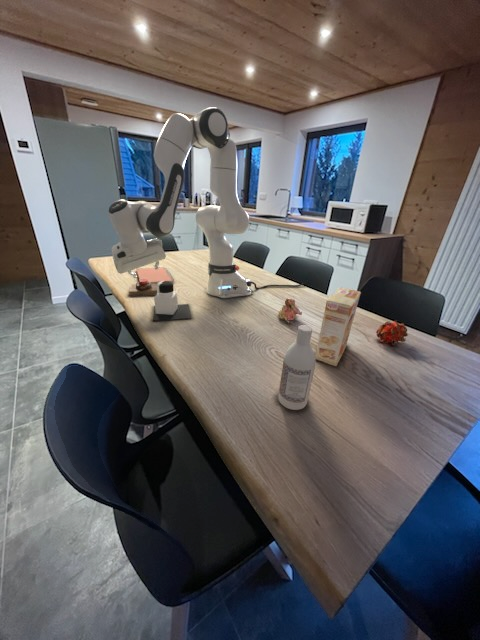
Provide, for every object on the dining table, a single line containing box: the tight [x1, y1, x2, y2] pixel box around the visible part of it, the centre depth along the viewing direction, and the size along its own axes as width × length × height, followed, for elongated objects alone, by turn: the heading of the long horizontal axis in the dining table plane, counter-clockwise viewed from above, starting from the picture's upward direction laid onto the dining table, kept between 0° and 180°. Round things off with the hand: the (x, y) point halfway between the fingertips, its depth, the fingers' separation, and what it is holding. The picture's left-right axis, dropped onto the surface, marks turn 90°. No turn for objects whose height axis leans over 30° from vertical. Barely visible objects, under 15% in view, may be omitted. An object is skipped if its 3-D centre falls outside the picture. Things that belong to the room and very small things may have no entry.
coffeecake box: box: [314, 287, 362, 367], centre depth 81 cm, size 15×7×20 cm, turn 148°
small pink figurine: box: [277, 297, 303, 324], centre depth 105 cm, size 9×10×10 cm
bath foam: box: [277, 324, 316, 411], centre depth 60 cm, size 7×7×20 cm
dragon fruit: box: [375, 320, 408, 346], centre depth 92 cm, size 8×8×12 cm
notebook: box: [135, 266, 175, 284], centre depth 146 cm, size 27×17×2 cm, turn 24°
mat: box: [152, 303, 192, 322], centre depth 106 cm, size 14×14×1 cm
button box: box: [128, 281, 158, 297], centre depth 125 cm, size 12×10×4 cm
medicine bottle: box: [153, 281, 179, 315], centre depth 104 cm, size 7×7×12 cm
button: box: [138, 279, 148, 285], centre depth 123 cm, size 4×4×2 cm
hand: (146, 273), depth 113 cm, fingers open, 8 cm apart
